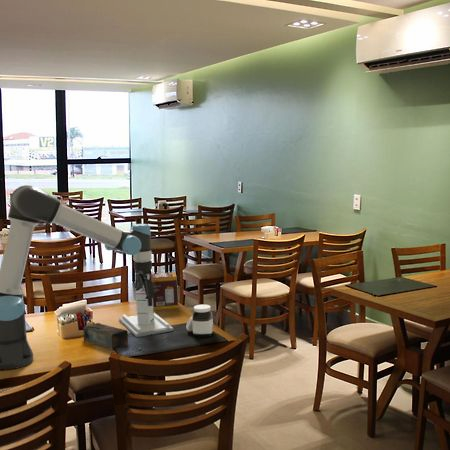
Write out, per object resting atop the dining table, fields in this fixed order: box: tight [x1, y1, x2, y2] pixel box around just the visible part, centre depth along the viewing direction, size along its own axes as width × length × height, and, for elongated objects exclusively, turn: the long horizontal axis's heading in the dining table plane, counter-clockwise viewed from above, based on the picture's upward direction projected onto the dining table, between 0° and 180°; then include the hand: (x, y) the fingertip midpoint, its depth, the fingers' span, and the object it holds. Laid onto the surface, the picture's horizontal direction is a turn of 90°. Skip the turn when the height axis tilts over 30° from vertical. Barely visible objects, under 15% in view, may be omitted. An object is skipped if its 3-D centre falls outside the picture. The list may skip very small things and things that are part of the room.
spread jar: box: [185, 304, 214, 338], centre depth 231 cm, size 12×11×12 cm
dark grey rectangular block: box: [82, 322, 129, 350], centre depth 223 cm, size 8×19×7 cm, turn 50°
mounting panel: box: [118, 312, 174, 338], centre depth 244 cm, size 26×16×3 cm, turn 26°
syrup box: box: [135, 288, 155, 325], centre depth 242 cm, size 6×6×14 cm
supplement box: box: [150, 271, 179, 311], centre depth 273 cm, size 10×15×16 cm
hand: (145, 309), depth 242 cm, fingers open, 13 cm apart
